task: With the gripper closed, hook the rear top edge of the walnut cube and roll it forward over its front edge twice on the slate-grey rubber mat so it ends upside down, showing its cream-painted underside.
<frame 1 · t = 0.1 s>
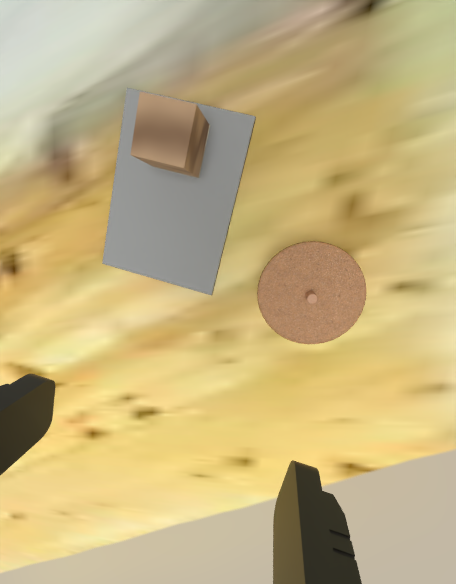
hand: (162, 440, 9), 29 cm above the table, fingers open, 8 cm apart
lidded jar: (302, 281, 36), on the table
walnut cube: (181, 146, 35), resting on mat
mat: (172, 197, 36), on the table
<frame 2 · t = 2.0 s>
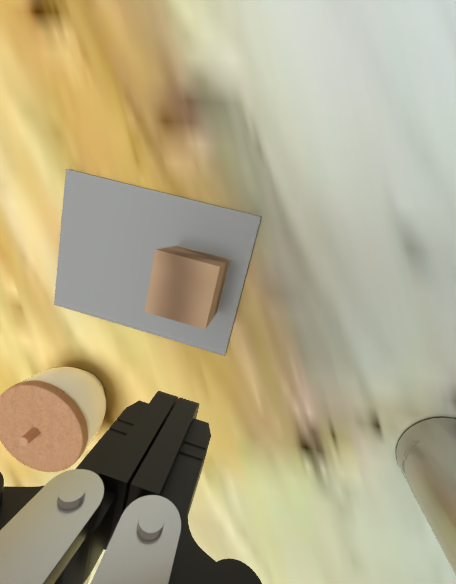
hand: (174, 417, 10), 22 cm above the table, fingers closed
lidded jar: (84, 389, 38), on the table
walnut cube: (198, 278, 31), resting on mat
mat: (149, 264, 32), on the table
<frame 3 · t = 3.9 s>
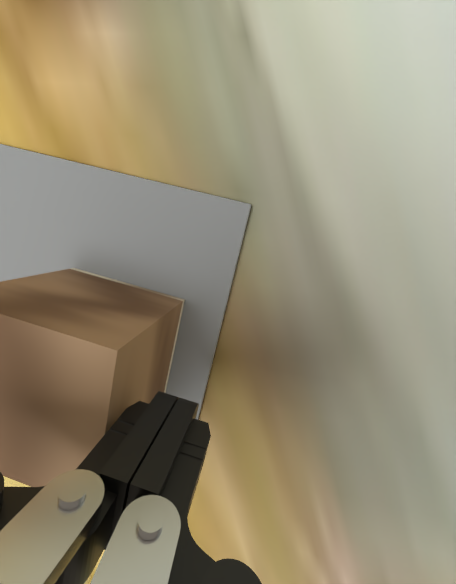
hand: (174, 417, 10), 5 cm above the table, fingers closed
walnut cube: (119, 337, 15), resting on mat, touching gripper
mat: (24, 304, 16), on the table
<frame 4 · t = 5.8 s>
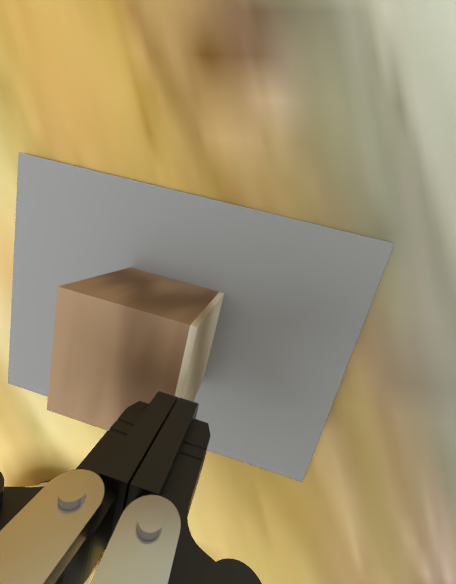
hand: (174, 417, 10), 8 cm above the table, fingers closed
walnut cube: (200, 360, 15), point 3 cm above the table, tilted 90°, touching mat
mat: (169, 323, 18), on the table
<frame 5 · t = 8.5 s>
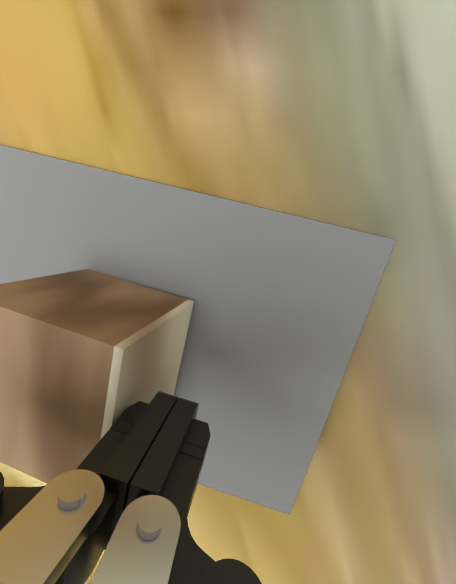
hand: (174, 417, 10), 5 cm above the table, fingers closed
walnut cube: (154, 385, 12), point 4 cm above the table, tilted 94°, touching gripper, mat
mat: (135, 333, 16), on the table
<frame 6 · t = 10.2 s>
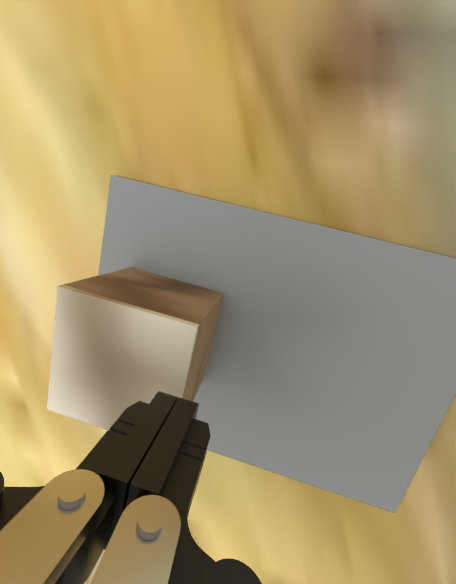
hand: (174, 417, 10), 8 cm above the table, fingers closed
walnut cube: (115, 371, 12), point 6 cm above the table, tilted 180°, touching mat
mat: (260, 349, 18), on the table
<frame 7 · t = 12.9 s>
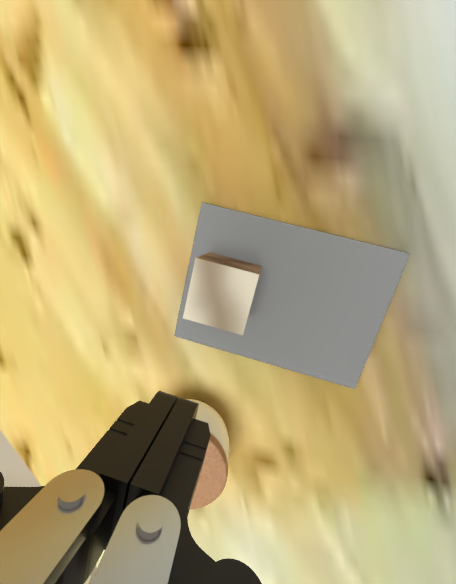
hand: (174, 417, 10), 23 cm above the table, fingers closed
lidded jar: (196, 419, 37), on the table
walnut cube: (219, 297, 26), point 6 cm above the table, tilted 180°, touching mat
mat: (280, 297, 32), on the table
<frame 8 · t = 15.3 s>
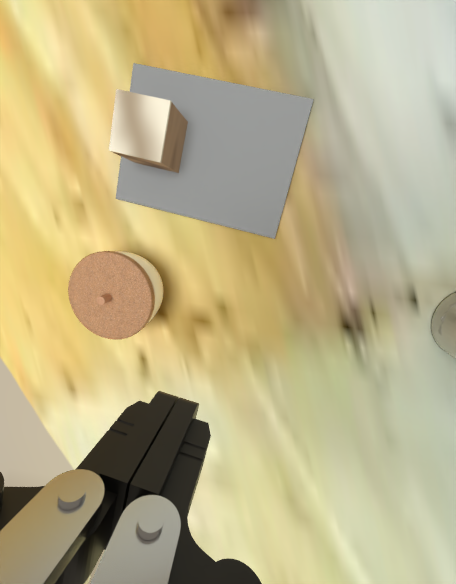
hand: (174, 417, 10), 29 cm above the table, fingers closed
lidded jar: (139, 284, 41), on the table
walnut cube: (138, 126, 30), point 6 cm above the table, tilted 180°, touching mat
mat: (206, 154, 35), on the table
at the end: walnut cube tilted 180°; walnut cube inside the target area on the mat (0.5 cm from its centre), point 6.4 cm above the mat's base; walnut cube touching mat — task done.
